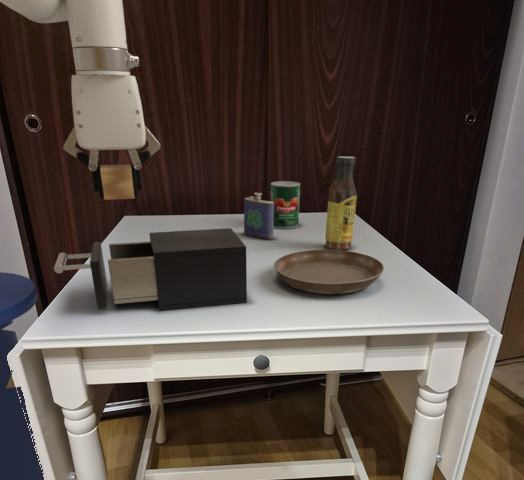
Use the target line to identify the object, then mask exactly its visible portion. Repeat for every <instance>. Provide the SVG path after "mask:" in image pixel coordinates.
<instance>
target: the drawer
mask: <svg viewBox="0 0 524 480" xmlns="http://www.w3.org/2000/svg"><path fill="white" fill-rule="evenodd" d="M108 246H109V252H110V253H109V255H110V258H108V259H107V264H108V265H107V266H108V271H109V278H110V284H111V291H112V298H113V304H115V305H119V304H121V305H122V304H131V303H142V302H153V301H154V302H155V301H158V294H157V284H156V274H155V265H154V256H153V251H152V246H151V241H150V240H149V241H136V242H135V241H133V242H118V243H108ZM88 258H89V259H90V260H89V263H81V264H68V265H67V261H68V260H75V259H76V260H77V259H88ZM55 261H56V262H55V264H54V266H53V270H54V272H55V273H57V274H62V273H63V272H64V271H72V270H85V269H87V270H88V269H90V271H91V276H92V277H91V278H92V284H93V288H94V289H93V290H94V294H95V295H94V296H95V302H96V307H97V310H105V309H106V308H107V295H108V280H107V274H106V268H105V261H104V254H103V248H102V242H101V241H93V244H92V248H91V253H88V252H87V253H74V254H73V253H72V254H67V253H66V252H64V251H63V252H60V253H59V254H58V256H57V259H56V260H55Z"/></svg>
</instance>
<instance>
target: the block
mask: <svg viewBox="0 0 524 480" xmlns="http://www.w3.org/2000/svg"><path fill="white" fill-rule="evenodd" d="M99 167H100V172H101V179H102V186H103V193H104V197H103V200H105V201H111V200H133V199H135V196H134V189H133V181H132V172H131V169H132V165H131V164H101V165H100V166H99Z"/></svg>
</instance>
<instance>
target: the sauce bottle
mask: <svg viewBox="0 0 524 480" xmlns="http://www.w3.org/2000/svg"><path fill="white" fill-rule="evenodd" d="M355 165H356V157H355V156H347V155H346V156H337V157H336V172H335V173H336V174H335V179H334V181H333V183H332V184H331V186H330V188H329V193H328V200H327V214H326V225H325V247H326V248H327V249H328V250H343V251H346V250H348V249H350V248H351V247H352V242H353V237H354V235H353V234H354V227H355V217H356V208H357V197H358V195H357V191H356V185H355V182H354V168H355Z"/></svg>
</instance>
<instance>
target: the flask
mask: <svg viewBox="0 0 524 480" xmlns="http://www.w3.org/2000/svg"><path fill="white" fill-rule="evenodd" d="M253 194H254V196H252V195H250V196H248V197H245V198H243V235H244V236H247V237H250V238H251V237H252V238H256V239H261V240H268V241H270V240H271V241H272V240H274V234H275V233H274V227H273V218H274V202H272V201H271V200H270V201H269V200H263V199H262V196H263V193H262V192H254V193H253Z"/></svg>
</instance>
